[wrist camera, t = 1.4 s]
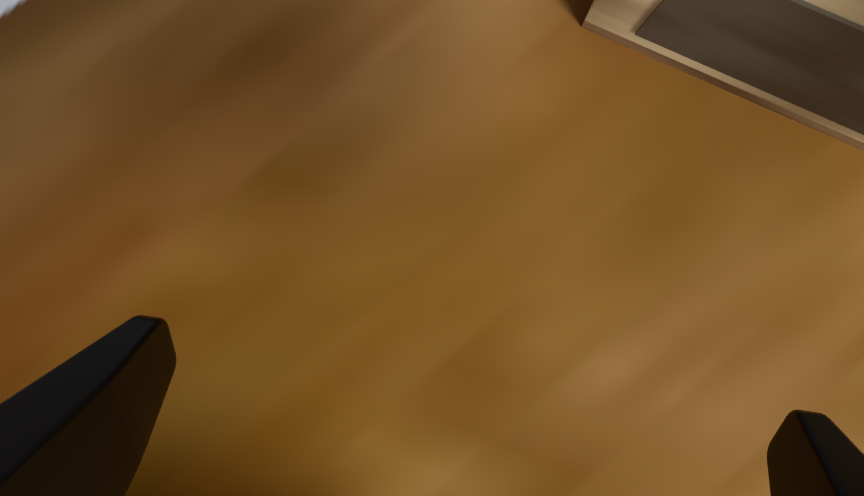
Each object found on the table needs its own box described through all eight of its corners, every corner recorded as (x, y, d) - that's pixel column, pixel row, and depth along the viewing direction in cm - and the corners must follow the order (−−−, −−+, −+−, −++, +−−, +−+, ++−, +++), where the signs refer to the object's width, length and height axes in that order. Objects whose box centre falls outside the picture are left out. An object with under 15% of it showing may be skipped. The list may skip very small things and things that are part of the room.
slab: (990, 62, 21) (1375, -49, 12) (927, 183, 21) (1255, 164, 12) (635, -90, 21) (744, -307, 12) (579, 30, 22) (647, -97, 13)
